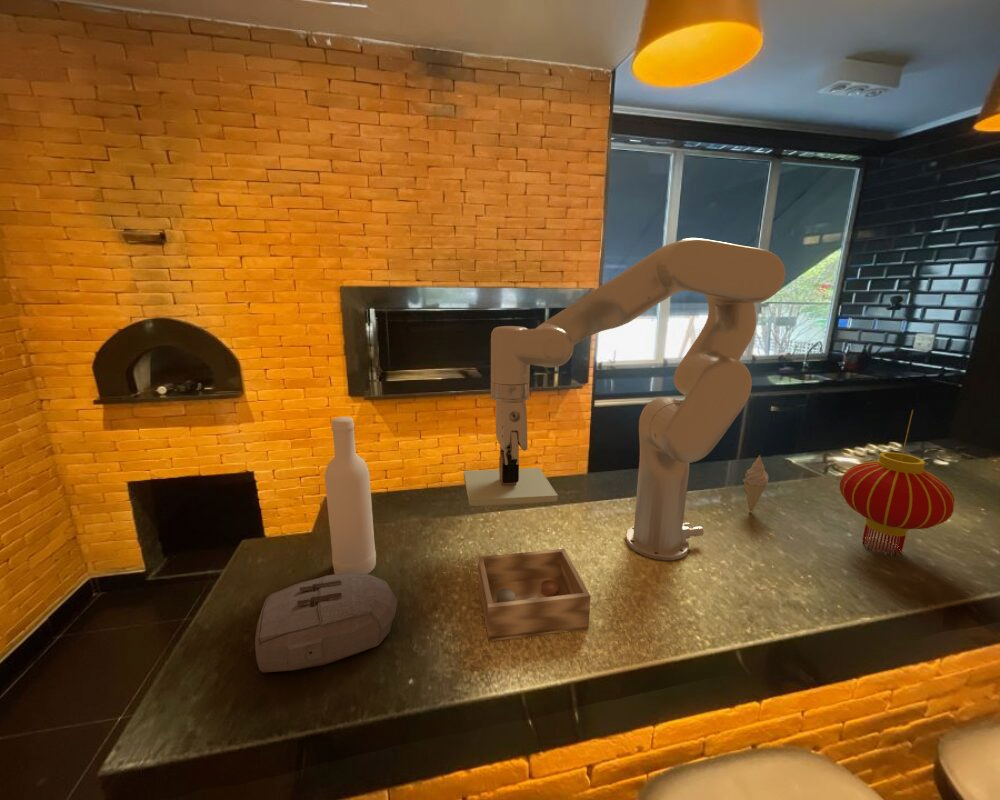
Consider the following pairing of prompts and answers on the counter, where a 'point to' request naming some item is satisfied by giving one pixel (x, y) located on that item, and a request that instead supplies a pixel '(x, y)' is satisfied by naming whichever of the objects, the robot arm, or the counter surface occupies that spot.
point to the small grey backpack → (323, 621)
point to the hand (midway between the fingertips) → (508, 477)
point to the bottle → (349, 504)
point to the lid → (507, 487)
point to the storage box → (532, 594)
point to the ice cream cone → (755, 483)
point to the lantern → (896, 496)
